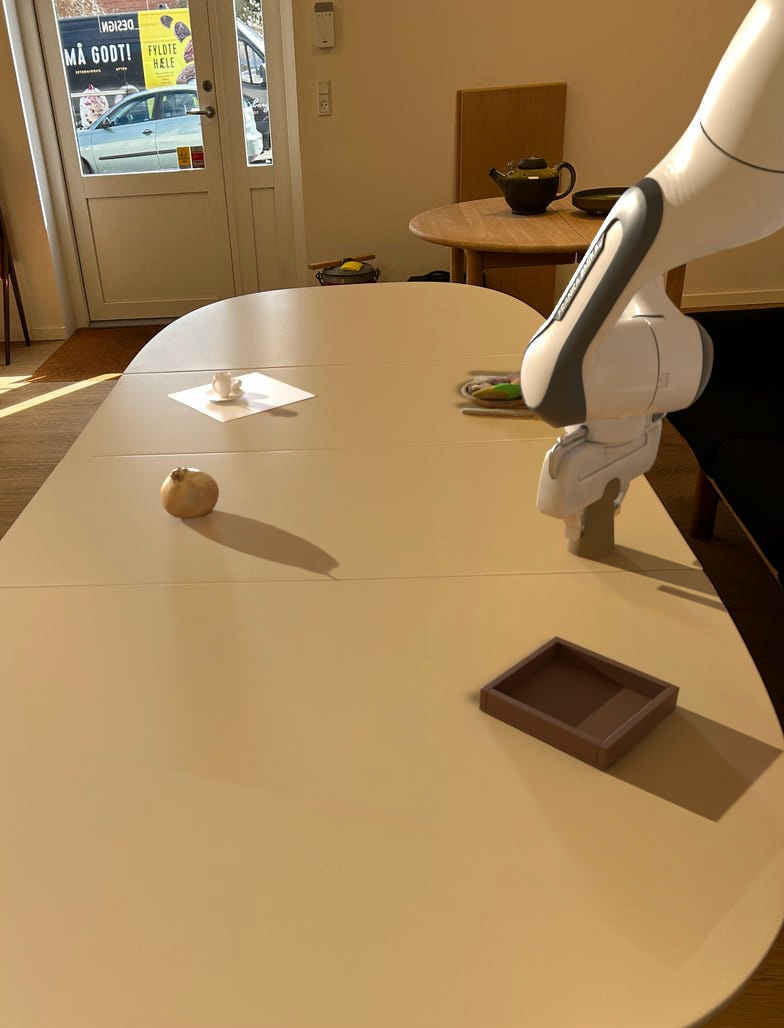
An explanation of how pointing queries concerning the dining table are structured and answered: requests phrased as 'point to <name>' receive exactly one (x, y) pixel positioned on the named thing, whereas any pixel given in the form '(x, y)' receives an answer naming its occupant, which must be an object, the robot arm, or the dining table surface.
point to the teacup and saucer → (239, 395)
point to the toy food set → (495, 395)
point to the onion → (189, 493)
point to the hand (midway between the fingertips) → (592, 526)
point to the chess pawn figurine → (598, 526)
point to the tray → (579, 701)
